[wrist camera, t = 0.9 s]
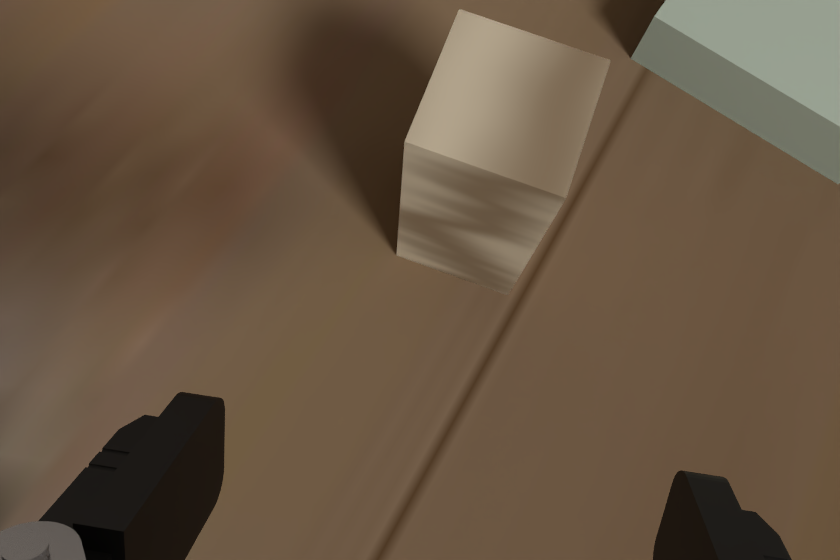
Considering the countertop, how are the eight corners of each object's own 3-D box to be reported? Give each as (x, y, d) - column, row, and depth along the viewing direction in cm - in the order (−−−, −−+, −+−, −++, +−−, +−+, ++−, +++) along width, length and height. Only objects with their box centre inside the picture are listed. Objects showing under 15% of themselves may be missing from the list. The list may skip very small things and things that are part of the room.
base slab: (627, 63, 35) (654, 16, 32) (731, -83, 38) (765, -140, 35) (832, 188, 34) (882, 152, 30) (923, 26, 37) (977, -23, 33)
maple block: (396, 255, 31) (404, 141, 22) (435, 156, 33) (459, 8, 23) (508, 295, 31) (566, 198, 21) (542, 193, 32) (610, 60, 23)
